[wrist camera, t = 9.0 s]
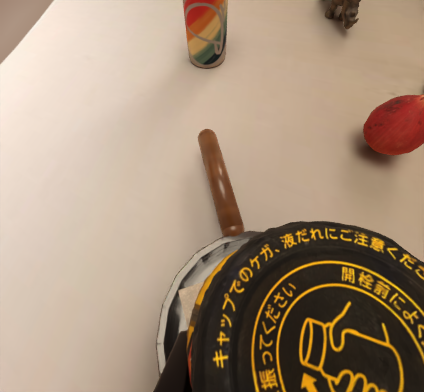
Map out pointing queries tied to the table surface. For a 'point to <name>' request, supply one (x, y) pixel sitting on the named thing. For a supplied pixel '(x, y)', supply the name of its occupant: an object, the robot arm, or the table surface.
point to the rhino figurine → (345, 11)
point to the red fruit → (396, 125)
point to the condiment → (309, 314)
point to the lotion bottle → (206, 31)
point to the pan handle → (220, 184)
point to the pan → (188, 276)
